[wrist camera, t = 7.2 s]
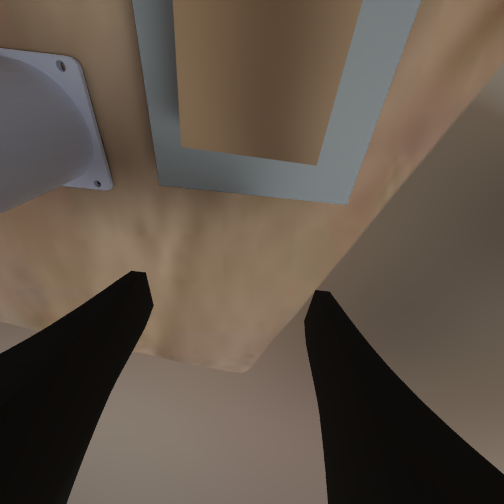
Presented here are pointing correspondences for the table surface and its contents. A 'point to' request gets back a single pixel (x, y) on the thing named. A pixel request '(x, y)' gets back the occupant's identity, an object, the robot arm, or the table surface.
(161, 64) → the base block
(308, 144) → the walnut cube
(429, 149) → the table surface
